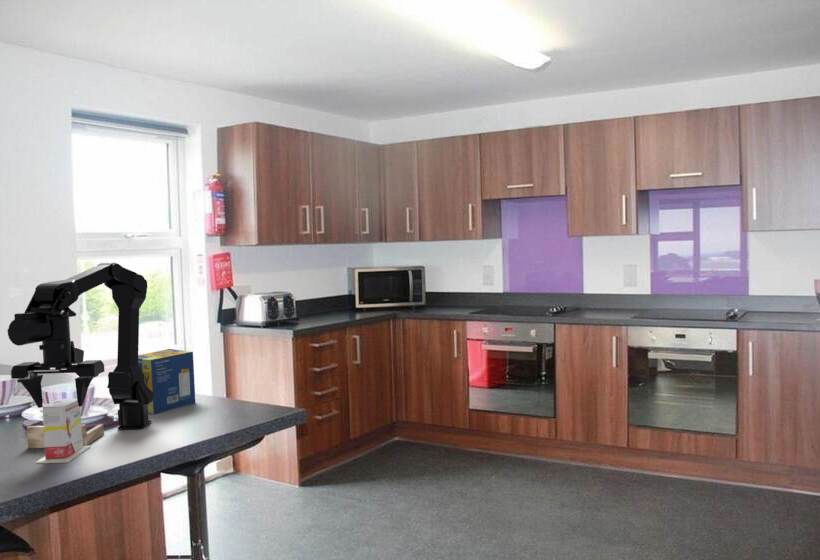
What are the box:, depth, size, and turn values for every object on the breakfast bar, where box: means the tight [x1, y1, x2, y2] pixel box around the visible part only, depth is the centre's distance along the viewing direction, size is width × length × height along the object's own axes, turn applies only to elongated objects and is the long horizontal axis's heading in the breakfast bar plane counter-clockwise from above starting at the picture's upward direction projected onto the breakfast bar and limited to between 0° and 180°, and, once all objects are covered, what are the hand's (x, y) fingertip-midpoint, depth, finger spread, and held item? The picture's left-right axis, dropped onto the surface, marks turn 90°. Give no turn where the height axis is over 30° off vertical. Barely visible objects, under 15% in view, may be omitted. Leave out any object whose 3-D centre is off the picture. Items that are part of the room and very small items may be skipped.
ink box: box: [42, 398, 83, 459], centre depth 160 cm, size 9×5×12 cm, turn 0°
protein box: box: [138, 348, 196, 415], centre depth 204 cm, size 10×15×16 cm
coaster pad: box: [35, 445, 91, 464], centre depth 160 cm, size 7×11×1 cm, turn 0°
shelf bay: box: [26, 423, 105, 449], centre depth 172 cm, size 14×10×5 cm
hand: (60, 406), depth 160 cm, fingers open, 9 cm apart
